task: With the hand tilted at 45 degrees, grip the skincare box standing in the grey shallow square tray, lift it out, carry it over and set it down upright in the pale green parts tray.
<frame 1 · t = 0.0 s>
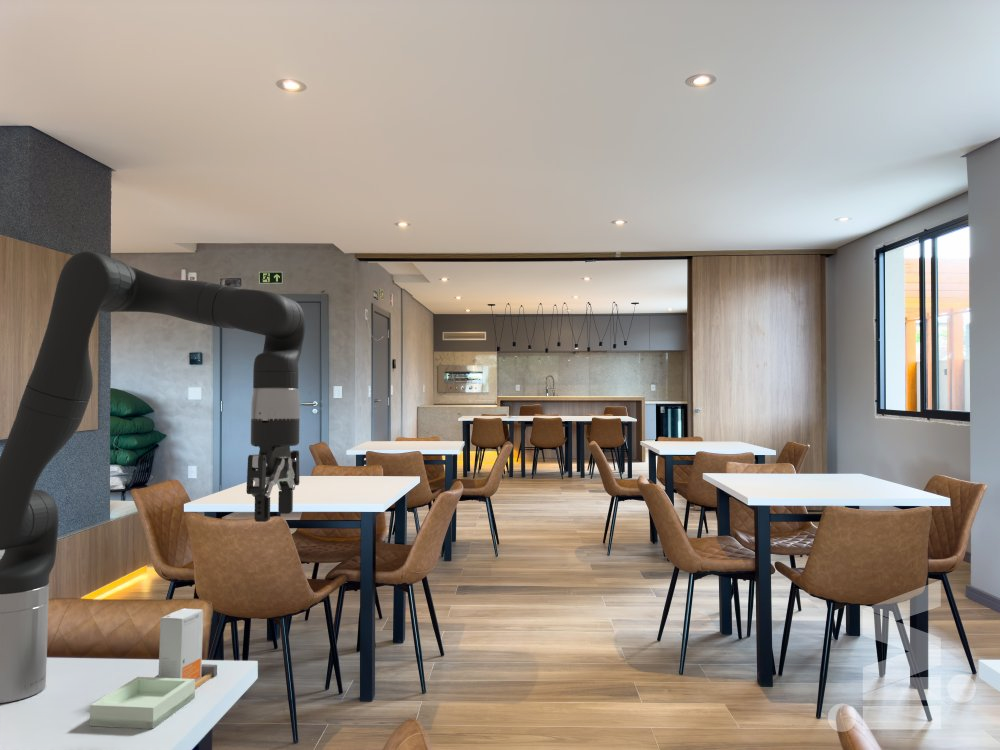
hand: (274, 517, 110), 29 cm above the table, tool pointing down, fingers open, 8 cm apart
grey shallow square tray: (180, 684, 116), on the table
parts tray: (144, 711, 106), on the table
skincare box: (180, 685, 116), resting in grey shallow square tray
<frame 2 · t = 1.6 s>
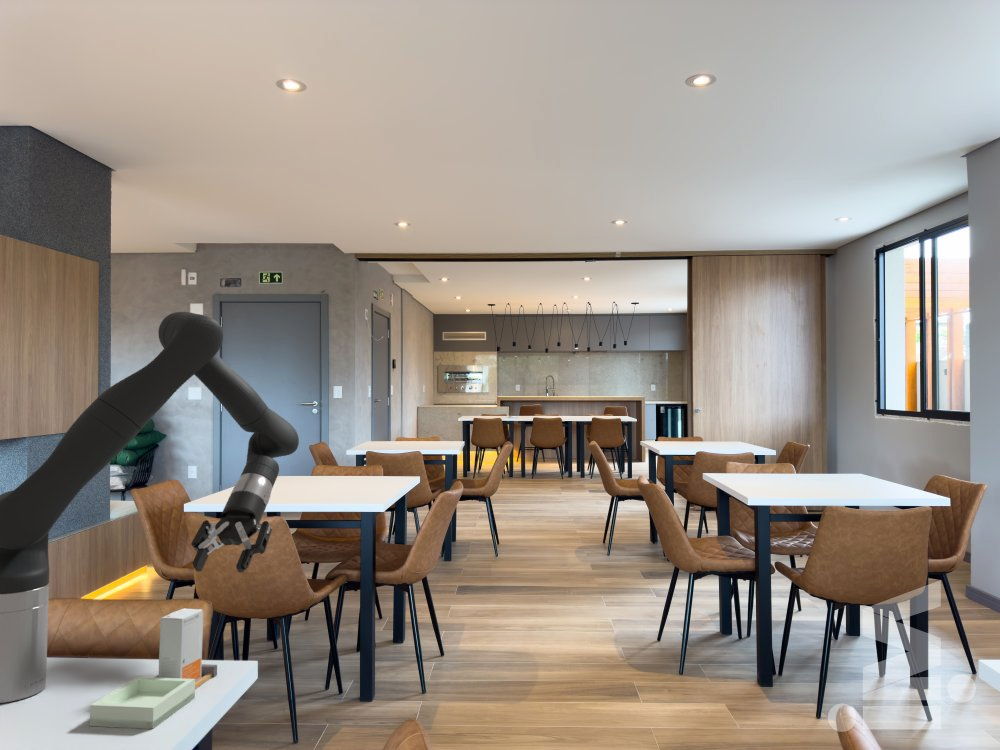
hand: (218, 569, 129), 17 cm above the table, tool tilted 45°, fingers open, 8 cm apart
nothing on the table moved.
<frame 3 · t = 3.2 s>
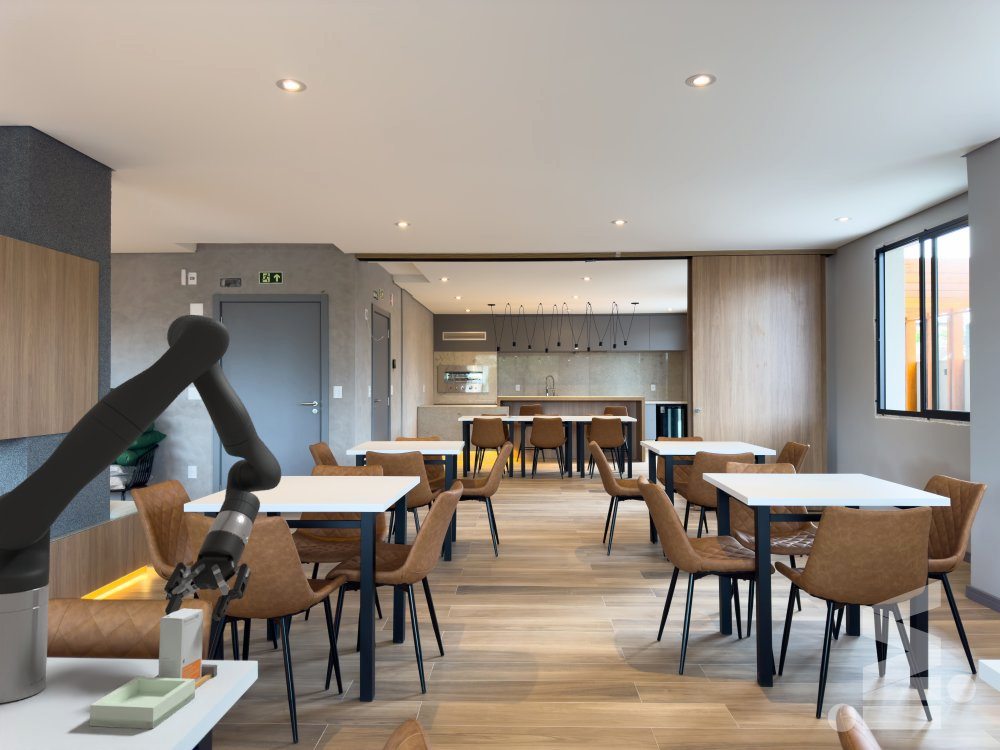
hand: (192, 617, 120), 10 cm above the table, tool tilted 45°, fingers open, 8 cm apart
nothing on the table moved.
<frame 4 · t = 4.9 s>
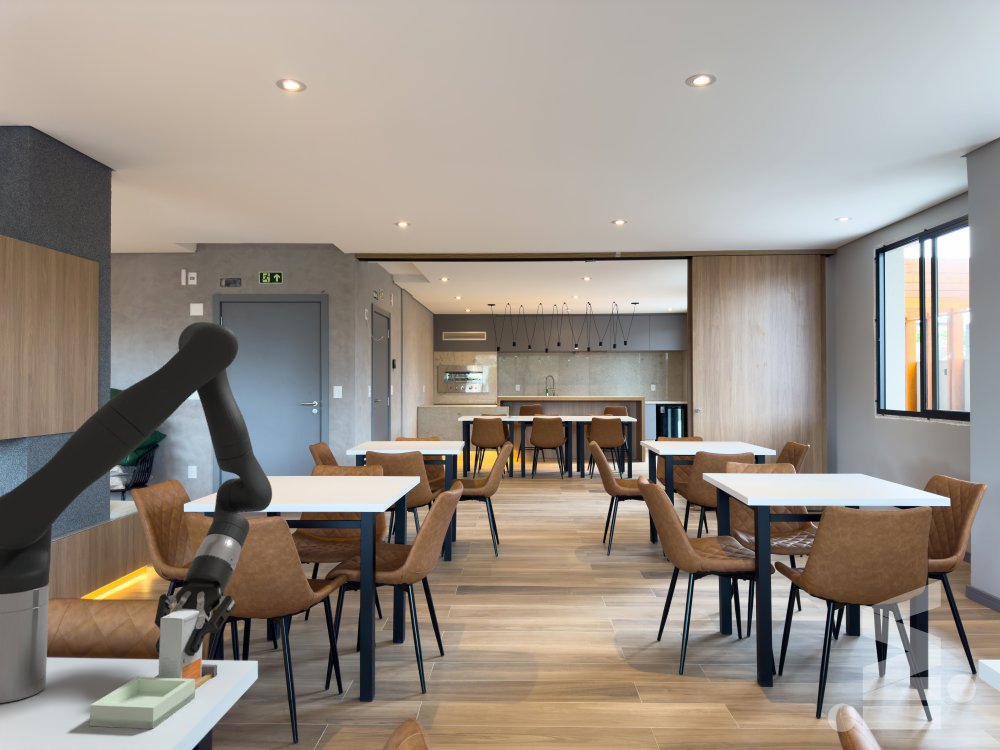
hand: (174, 652, 115), 6 cm above the table, tool tilted 45°, fingers closed on skincare box, 4 cm apart
skincare box: (180, 685, 116), resting in grey shallow square tray, touching gripper
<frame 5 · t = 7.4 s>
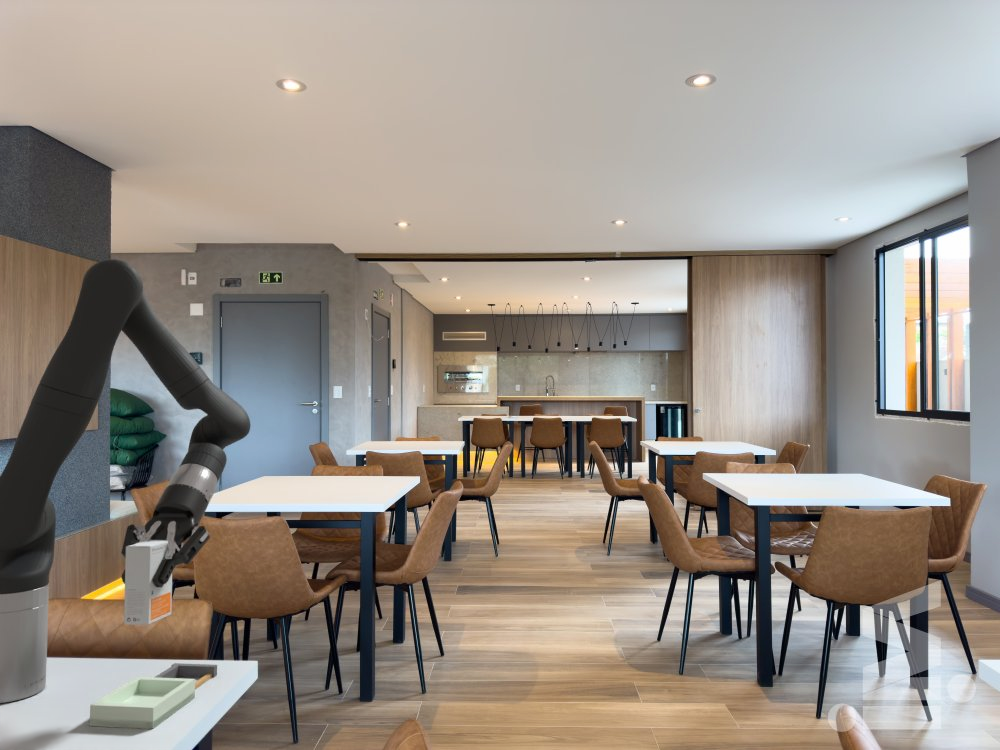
hand: (142, 583, 106), 20 cm above the table, tool tilted 45°, fingers closed on skincare box, 4 cm apart
skincare box: (148, 621, 107), point 14 cm above the table, touching gripper
when the fingers open (8 cm above the table, at t = 10.1 s): skincare box stays where it is, resting on parts tray.
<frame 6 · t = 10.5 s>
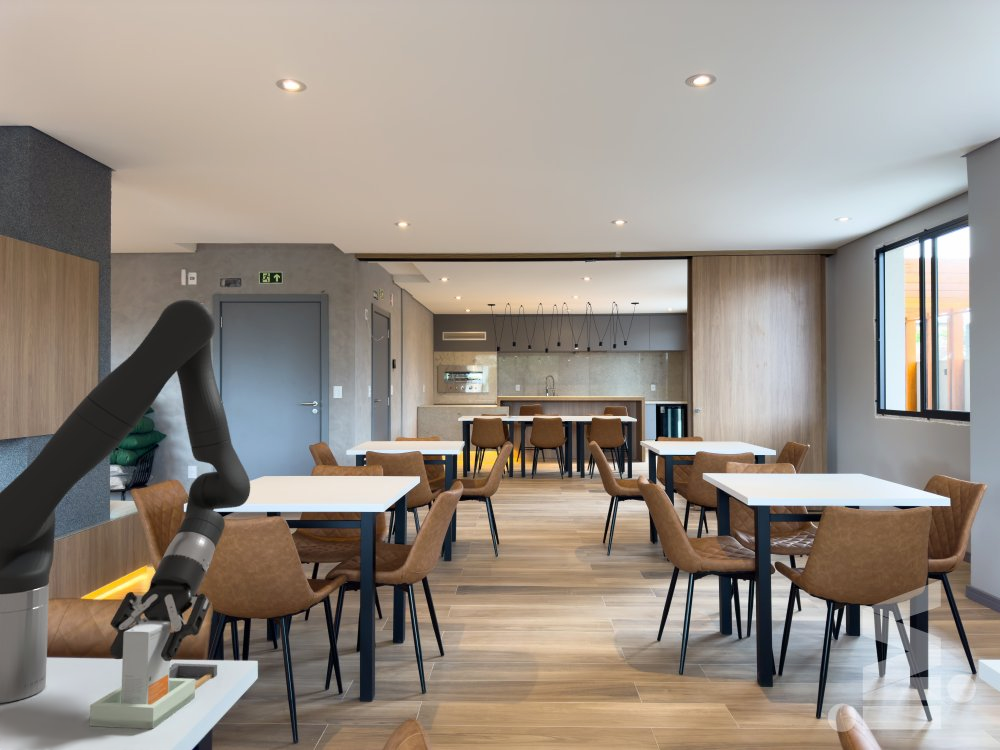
hand: (140, 657, 105), 9 cm above the table, tool tilted 45°, fingers open, 8 cm apart
skincare box: (145, 705, 106), point 1 cm above the table, touching parts tray
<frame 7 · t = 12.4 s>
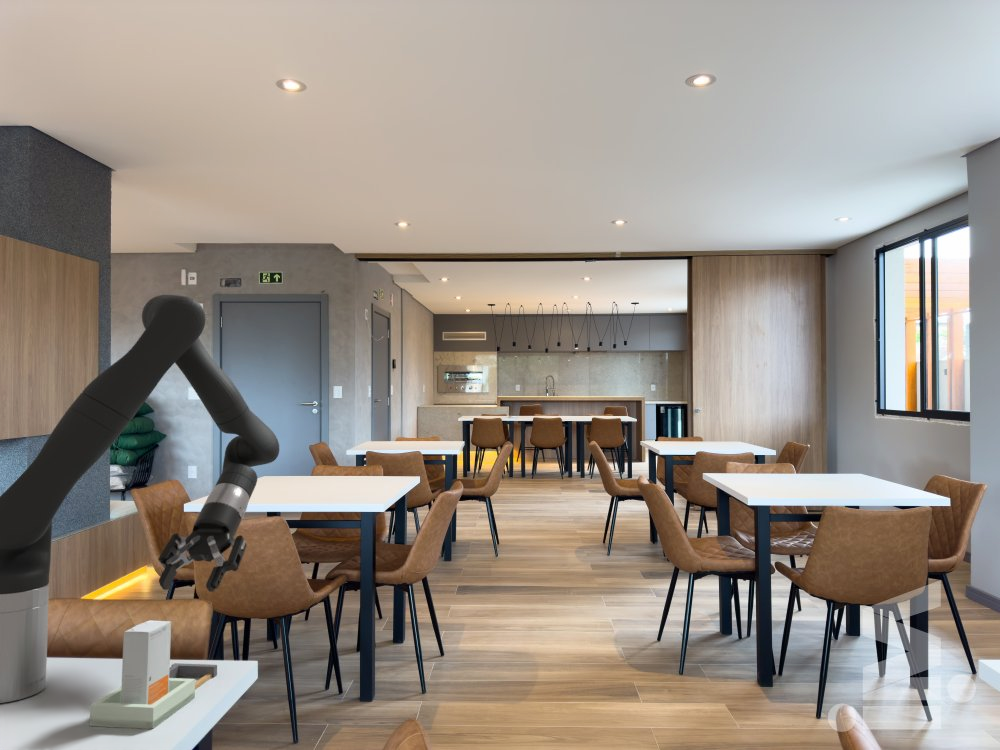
hand: (186, 588, 118), 16 cm above the table, tool tilted 45°, fingers open, 8 cm apart
nothing on the table moved.
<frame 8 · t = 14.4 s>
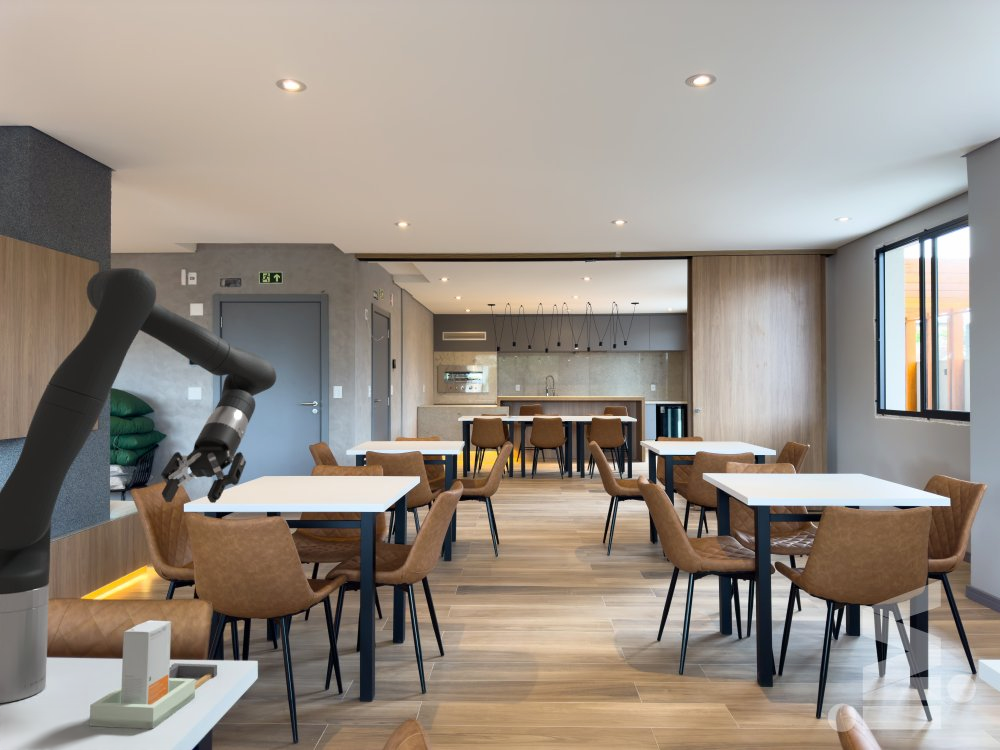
hand: (188, 499, 123), 31 cm above the table, tool tilted 45°, fingers open, 8 cm apart
nothing on the table moved.
at the end: skincare box inside the target area on the parts tray (0.1 cm from its centre), point 0.8 cm above the parts tray's base; skincare box tilted 0°; the gripper is holding nothing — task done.
